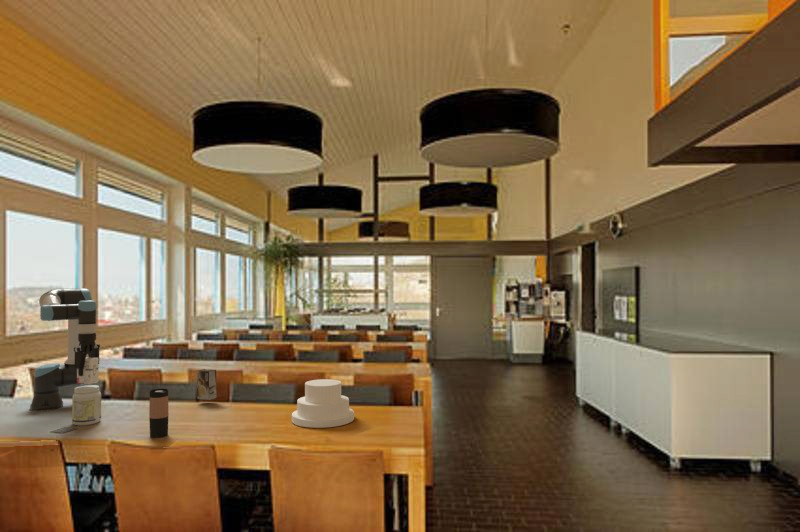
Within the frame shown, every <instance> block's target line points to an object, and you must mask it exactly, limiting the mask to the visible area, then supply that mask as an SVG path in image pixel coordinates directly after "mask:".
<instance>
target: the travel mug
mask: <svg viewBox="0 0 800 532" xmlns="http://www.w3.org/2000/svg"><path fill="white" fill-rule="evenodd" d="M148 409H149V413H148V414H149V417H148V418H149V438H152V439H159V438H164V437H168V434H169V389H168V388H154V389H151V390H149V408H148Z"/></svg>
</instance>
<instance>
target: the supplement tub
mask: <svg viewBox="0 0 800 532" xmlns="http://www.w3.org/2000/svg"><path fill="white" fill-rule="evenodd" d="M73 392H74V393H73V395H72V398H71V399H72V401H71V402H72V403H71V404H72V405H71V406H72V407H71V410H72V411H71V413H72V414H71V417H72V419H71V421H72V424H73V425H75V426H89V425H96V424H97V423H99V422H100V421H101V420H102V393H101V391H100V385H96V384H85V385H79V386H76V387H74V391H73Z"/></svg>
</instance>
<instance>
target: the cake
mask: <svg viewBox="0 0 800 532" xmlns="http://www.w3.org/2000/svg"><path fill="white" fill-rule="evenodd" d="M296 404H297V405H296V410H294V411H293V412H292V413H291V422H292V423H293V424H294V425H295V426H299V427H303V428H311V429H312V428H315V429H319V428H320V429H322V428H333V427H340V426H344V425H347V424H349V423H352V422H353V421H354V420H355V411H354V410H353V409H352V408H351V407H350V399H349V397H348V396H346V395H342V381H341V380H338V379H330V378H329V379H327V378H325V379H324V378H322V379H319V378H318V379H313V380H312V379H311V380H308V381H305V383H304V396H301V397H300V398H298V399H297V402H296Z"/></svg>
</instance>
